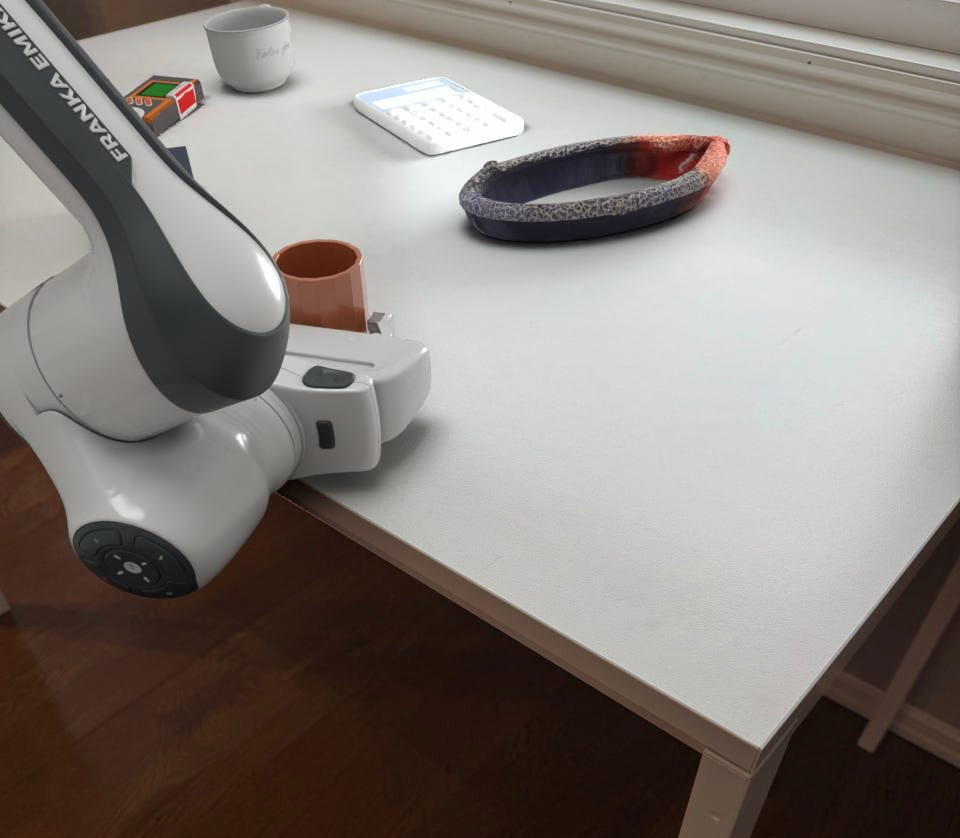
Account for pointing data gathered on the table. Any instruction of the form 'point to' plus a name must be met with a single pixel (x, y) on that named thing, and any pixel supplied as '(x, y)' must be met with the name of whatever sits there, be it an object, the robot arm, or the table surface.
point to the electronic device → (165, 100)
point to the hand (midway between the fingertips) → (326, 314)
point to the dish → (512, 183)
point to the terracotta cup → (325, 284)
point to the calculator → (438, 115)
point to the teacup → (252, 47)
